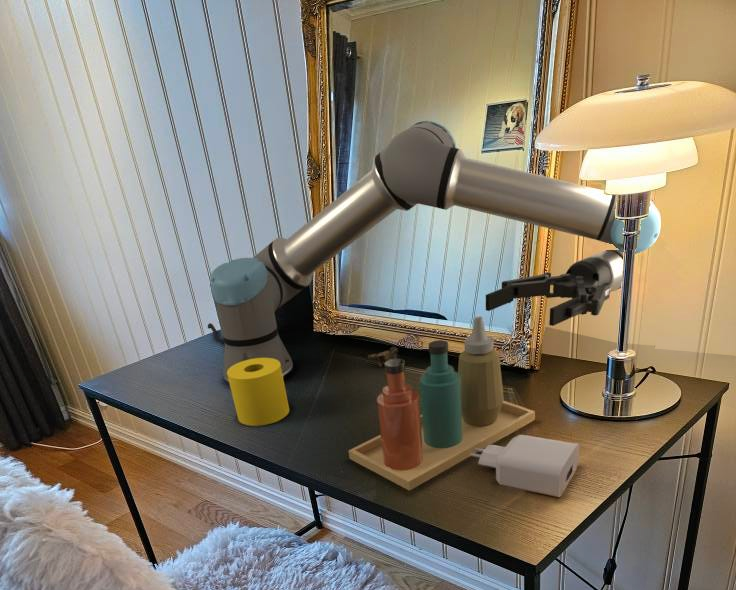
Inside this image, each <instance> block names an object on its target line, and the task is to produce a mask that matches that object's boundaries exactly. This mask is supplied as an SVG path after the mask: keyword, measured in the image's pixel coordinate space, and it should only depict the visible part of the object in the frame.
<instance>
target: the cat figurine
mask: <svg viewBox="0 0 736 590" xmlns="http://www.w3.org/2000/svg"><path fill="white" fill-rule="evenodd" d="M398 352H399V350H398V348H397V347H396V346H395V345H394V346H392V347H390V349H389V350H385V351H382V352H379V353H373V354H368V355H367V356H366V359H367V360H376V359H377V361H376V362H377V365H378V366H379V368H382V367H384V363H385V362H386V361H388V360H391V359H398Z"/></svg>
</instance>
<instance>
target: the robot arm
mask: <svg viewBox="0 0 736 590" xmlns="http://www.w3.org/2000/svg"><path fill="white" fill-rule="evenodd" d="M604 191H605V190H603V189H599V188H595V187H592V186H587V185H582V184H579V183H574V182H571V181H565V180H561V179H557V178H553V177H549V176H545V175H540V174H537V173H531V172H528V171H525V170H520V169H516V168H511V167H508V166H507V167H506V166H503V165H500V164H499V165H498V164H495V163H492V162H491V163H490V162H486V161H481V160H478V159H475V158H470V157H467V156H466V155H465V153H464V152H463V150H462V149H461V148H458V146H457V143H456V140H455V138H454V136H453V135H452V133H451V132H450V130H448V128H447V127H445V126H443V125H442V124H440V123H438V122H435V121H432V120H423V121H418V122H416V123H414V124H412V125H411V126H410V127H408V128H406V129H405V130H402V131H401V132H399V133H397V134H396V135H395V136H394V137H393V138H392V139H391V140H390V142H388V144H387V146H385V148H384V149H382V150H381V151H379V152H378V153H377V154H376V155H375V156H374V157H373V160H372V168H371V170H370V171H369V172H368V173H366V174H365V175H364V176H363V177H362V178H360V179H359V180H357V182H355V183H354V184H352V186H351V187H349V188H347V190H346V191H344V192H343V193H341V195H339V196H338V197H337V198H336V199H334V200H333V201H332V202H331V203H330V204H329V205H327V206H325V208H324V209H322V210H321V211H320V212H318V213H317V214H316V215H314V217H312V218H311V219H310V220H309V221H307V222H306V223H305V224H304V225H303V226H302V227H299V229H298V230H297V231H295V232H294V233H293V234H292V235H291V236H289V237H288V238H284V237H276V238H274V240H272V241H271V242H269V244H268V245H266V246H265V247H264V248H263V249H261V250H260V251H259V252H258V253H257V254H255V255H254V256H253V257H241V258H236V259H232V260H229V261H228V262H223V263H221V264H220V265H218V266H217V267H215V269H213V271H212V272H211V274H210V276H209V283H210V292H211V297H212V298H213V302H214V307H215V310H216V314H217V318H218V323H219V327H220V330H221V335H222V338H220V337H218V331H217V329H216V328H215V326H214V324H213V323H211V322H209V323H208V324H207V329H211V331H212V335H213V339H214V341H216V342H217V343H221V344H224V353H223V363H222V375H223V380H224V383H225V384H226V385H228V386H229V387H230V383H229V379H228V375H227V371H228V369H229V368H230V367H231V366H233V365H235V364H237V363H239V362H242V361H245V360H249V359H254V358H273V359H276V360H278V361H279V362H280V364H281V369H282V375H283V380H286V379H287V378H288V377H289V376H291V375H292V373H293V372H294V365H293V360H292V357H291V356H290V354H289V352H288V350H287V348H286V346H285V345H284V343H283V341H282V339H281V337H280V335H279V330H278V325H277V320H276V314H275V312H277V311H278V310H279V309H280V308H281V307H282V306H283V305H284V304H286V303H287V302H288V301H290V300H291V299H292V298H294V297H295V296H296V295H298V294H299V293H300V292H302V291H303V290H304V289H306V288H307V287H308V286H309V285H310V284H311V283H312V277H313V273H315V272H316V271H317V270H319V269H320V268H322V267H323V266H324V265H325V264H327V263H328V262H329V261H330V260H332V259H333V258H334V257H335V256H337V255H338V254H340V253H341V252H342V251H344V250H345V249H347V248H348V247H349V246H350V245H352V244H353V243H354V242H356V241H357V240H358V239H359V238H361V237H363V236H364V235H365V234H366V233H368V232H369V231H371V229H373V228H374V227H376V225H378V224H379V223H381V222H382V221H383V220H385V219H386V218H387V217H389V216H390V215H391V214H393V213H394V212H396V211H397V210H400V211H405V212H408V211H410V210H411V209H413V208H414V207H416V205H418V204H419V205H422V206H426V207H427V206H428V207H432V208H436V209H440V210H446V211H447V210H449V209H450V208H452V207H454V206H456V207H460V208H465V209H468V210H471V211H476V212H481V213H484V214H489V215H493V216H497V217H500V218H503V219H504V218H505V219H509V220H513V221H516V222H517V221H518V222H522V223H526V224H530V225H534V226H538V227H542V228H546V229H551V230H554V231H558V232H562V233H567V234H571V235H574V236H579V237H583V238H586V239H591V240H595V241H597V242H598V241H599V242H601V243H605V244H606V243H609V244H613V245H614V246H615V247H616V248H618V249H619V250H606V251H605V250H602V251H600V252H598V253H595V254H592V255H590V256H588V257H586V258H583V259H581V260H578V261H576V262H574V263H572V264H571V265H570V266H569V268H568V269H567V270H566V272H565V273H561V274H560V275H555V276H552V273H551V272H548V271H547V272H544V273H541V274H538V275H532V276H531V275H530V276H527V277H521V278H515V279H508V280H504V281H502V282H501V288H499V289H497V290H494V291H492V292H489V293H487V294H485V311H487V312H490V311H492V310H495V309H498V308H499V307H503V306H504V305H507V304H511V303H512V302H514V299H524V298H534V297H545V298H547V299H552V298H560V299H565V298H566V299H568V300H567V301H564V302H562V303H559V304H557V305H555V306H553V307H550V308H549V322H548V325H549V326H550V327H551V326H552V327H554V326H556V325H558V324H561V323H563V322H565V321H567V320H569V319H571V318H574V317H576V316H579V315H587V314H588V313H590V315H591V316H593V317H594V316H599V314H600V313H601V310H602V307H603V305H604V303H605V301H608V300H609V299H610V295H611V293H612V292H615V291H617V290H619V289H620V290H621V289H622V288H621V282H622V271H623V252H624V249H623V235H622V233H623V228H624V222H623V221H621V220H616V219H615V209H616V202H617V196H616V195H606V194H604ZM654 204H655V202H654V203H653V200H652V199H651V201H650V207H649V215H648V217H647V218H645V219H643V220H641V224H640V226H641V231H640V235H639V239H638V245H637V248H636V251H635V254H637V253H640V252H643V251H645V250H647V249H648V248H649V247H651V246H652V245H653V246H654V244H655V243H656V241H657V239H658V238H659V236H660V232H661V223H662V221H661V220H662V218H661V213H660V212H659V210H658V208H657V207H656V204H655V205H654ZM624 253H625V252H624ZM551 286H552V292H551Z"/></svg>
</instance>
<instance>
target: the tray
mask: <svg viewBox="0 0 736 590" xmlns="http://www.w3.org/2000/svg"><path fill="white" fill-rule="evenodd" d="M420 420H421V434H422V448H423V461H422V463H421V464H420V465H418V466H417V467H415V468H412V469H408V470H394V469H391V468H389V467H387V466H385V464H384V461H383V452H382V443H381V434H379V435H376V436H375V437H373V438H371V439H368V440H366V441H365V442H363V443H361V444H359V445H357V446H355V447H353V448H351V449H349V450H348V457H349V460H351V461H353V462H355V463H357V464H358V465H360V466H362V467H364V468H366V469H368V470H370V471H371V472H374V473H376V474H377V475H379V476H381V477H382V478H384V479H387V480H389V481H391V482H392V483H394V484H396V485H398V486H400V487H402V488H404V489H406V490H407V491H411V490H413V489H415V488H417V487H419V486H420V485H422V484H423V483H425V482H427V481H429V480H430V479H433V478H434V477H436V476H438V475H441V473H443V472H445V471H447V470H448V469H450V468H452V467H454V466H455V465H457V464H459V463H461V462H462V461H464V460H466V459H468V458H470V457H471V456H470V454H471V453H473V454H478V453H479V451H475V448H479V449H485V448H486V447H487V446H488V445H494V444H495V443H497V442H498V441H500V440H501V439H503V438H506V437H507V436H509V435H511V434H512V433H514V432H516V431H518V430H519V429H521V428H523V427H525V426H526V425H528V424H530V423H531V422H533V421H535V420H536V411H535V410H533V409H529V408H527V407H524V406H520V405H517V404H515V403H512V402H509V401H506V400H504V401H503V404H502V406H501V409H500V412H499V415H498V417H497V420H496V421H495V422H494V423H492V424H489V425H485V426H472V425H469V424H467V423H465V422H464V420H463V418H462V441H461V442H460V443H459V444H457V445H455V446H453V447H449V448H434V447H431V446H428V445H427V444H426V443H425V442H424V432H423V418H422V413H420Z"/></svg>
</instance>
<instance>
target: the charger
mask: <svg viewBox="0 0 736 590" xmlns="http://www.w3.org/2000/svg"><path fill="white" fill-rule="evenodd" d="M475 451H478V453H479V452H480V453H481V454H478V453H475V454H473V453H471V454H470V457H474V458H478V466H481V467H487V468H492V469H495V480H496V481H497V483H498V484H499V485H500V486H505V487H510V488H515V489H518V490H524V491H527V492H532V493H537V494H541V495H547V496H552V497H557V498H561V496H562V495H563V493H564V492H565V490H566V488H567V487H568V485H569V483H570V482H571V480H572V478H573V477H574V475H575V474H576V471H577V468H578V465H579V454H580V444H579V443H576V442H568V441H563V440H557V439H550V438H544V437H539V436H533V435H527V434H526V435H525V434H519V435H516V436H514V437H512V438H511V439H510V441H509V442H508V443H507V444H506V446H503V445H502V446H501V445H495V444H491V445H488V446H487V447H486V448H484V449H479V448H475Z"/></svg>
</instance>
